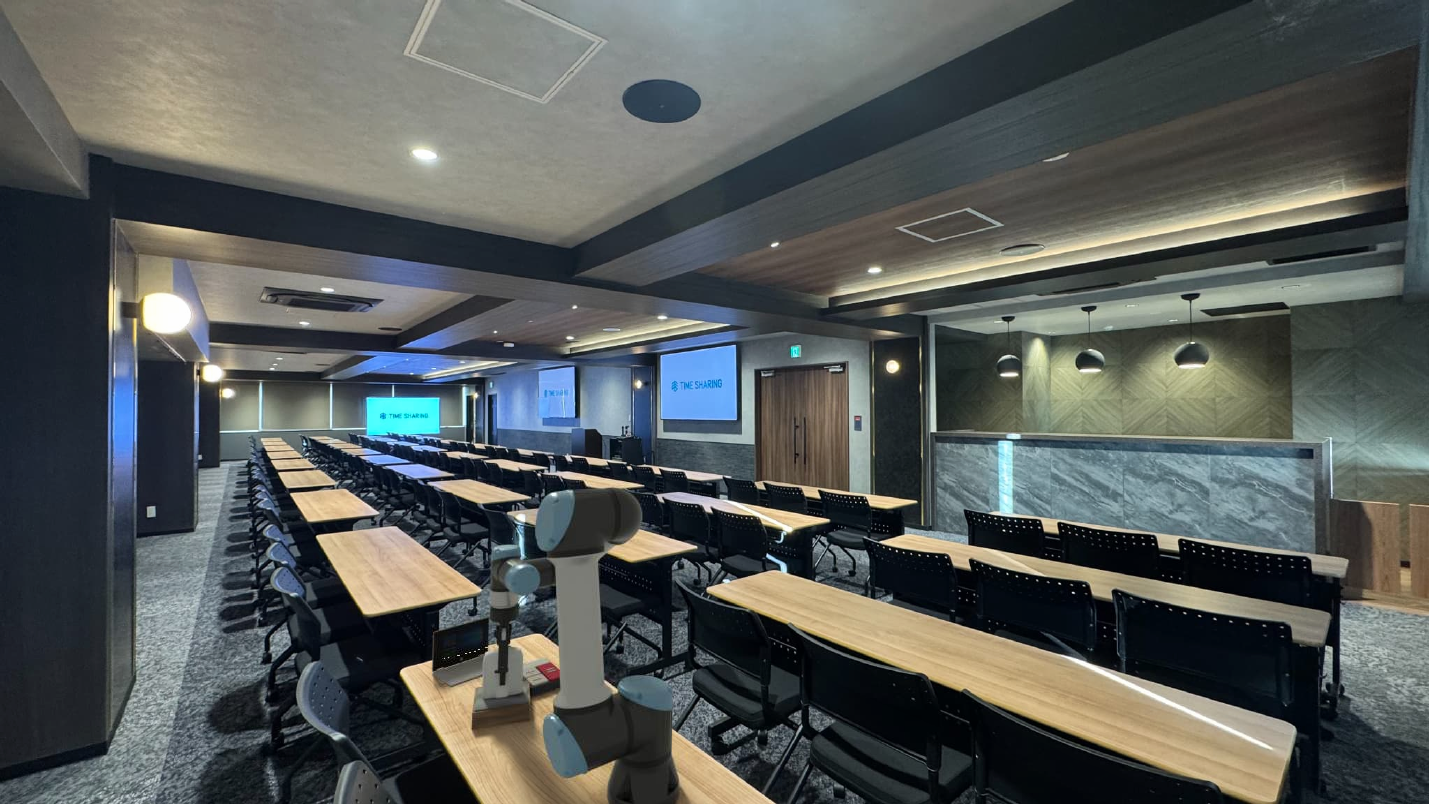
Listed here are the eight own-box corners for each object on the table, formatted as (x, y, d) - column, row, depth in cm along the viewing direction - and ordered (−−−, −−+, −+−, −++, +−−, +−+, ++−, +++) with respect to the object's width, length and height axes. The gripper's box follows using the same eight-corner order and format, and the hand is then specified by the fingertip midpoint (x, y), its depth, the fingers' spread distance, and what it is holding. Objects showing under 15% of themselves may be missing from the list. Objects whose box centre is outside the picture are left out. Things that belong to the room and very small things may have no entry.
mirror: (529, 720, 146) (530, 703, 146) (471, 729, 142) (472, 712, 142) (528, 694, 159) (529, 679, 160) (475, 702, 155) (475, 686, 155)
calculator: (531, 685, 158) (511, 664, 169) (531, 700, 158) (511, 678, 169) (567, 674, 165) (546, 655, 177) (567, 689, 165) (545, 668, 177)
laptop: (450, 688, 163) (451, 643, 163) (431, 674, 171) (432, 631, 171) (507, 667, 177) (508, 626, 177) (487, 656, 185) (488, 616, 185)
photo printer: (481, 701, 147) (482, 653, 147) (482, 693, 151) (483, 647, 151) (522, 695, 151) (524, 648, 151) (522, 687, 155) (523, 642, 155)
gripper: (519, 617, 141) (517, 705, 141) (519, 589, 164) (517, 665, 163) (487, 620, 139) (485, 710, 138) (491, 591, 161) (489, 668, 161)
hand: (502, 685), depth 151 cm, fingers open, 11 cm apart
